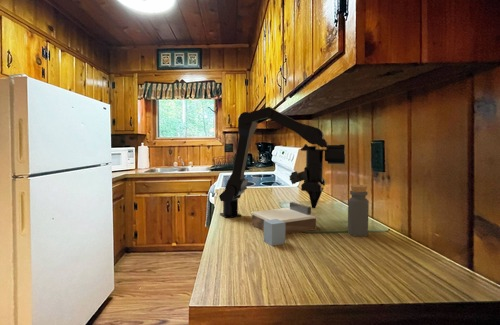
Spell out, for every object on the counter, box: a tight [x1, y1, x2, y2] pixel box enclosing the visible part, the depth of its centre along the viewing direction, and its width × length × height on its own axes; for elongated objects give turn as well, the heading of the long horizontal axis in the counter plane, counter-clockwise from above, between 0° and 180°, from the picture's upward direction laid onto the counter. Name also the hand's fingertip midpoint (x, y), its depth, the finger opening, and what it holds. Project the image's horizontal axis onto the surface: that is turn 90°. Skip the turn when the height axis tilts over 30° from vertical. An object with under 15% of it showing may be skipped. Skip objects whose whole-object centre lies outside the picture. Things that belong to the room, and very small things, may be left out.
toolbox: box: [251, 214, 317, 235], centre depth 99 cm, size 14×16×4 cm
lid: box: [251, 201, 318, 222], centre depth 99 cm, size 14×16×3 cm
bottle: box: [347, 184, 370, 238], centre depth 91 cm, size 6×6×15 cm
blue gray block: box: [263, 219, 286, 247], centre depth 84 cm, size 4×4×6 cm
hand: (313, 208), depth 105 cm, fingers closed
